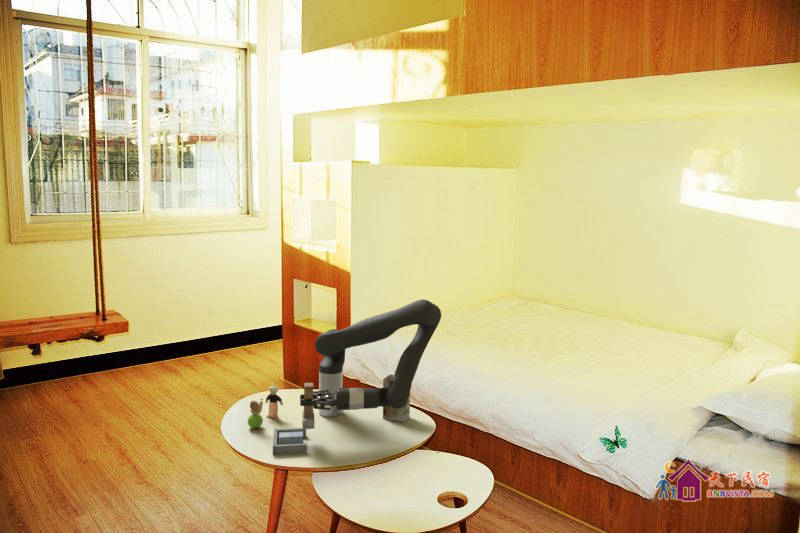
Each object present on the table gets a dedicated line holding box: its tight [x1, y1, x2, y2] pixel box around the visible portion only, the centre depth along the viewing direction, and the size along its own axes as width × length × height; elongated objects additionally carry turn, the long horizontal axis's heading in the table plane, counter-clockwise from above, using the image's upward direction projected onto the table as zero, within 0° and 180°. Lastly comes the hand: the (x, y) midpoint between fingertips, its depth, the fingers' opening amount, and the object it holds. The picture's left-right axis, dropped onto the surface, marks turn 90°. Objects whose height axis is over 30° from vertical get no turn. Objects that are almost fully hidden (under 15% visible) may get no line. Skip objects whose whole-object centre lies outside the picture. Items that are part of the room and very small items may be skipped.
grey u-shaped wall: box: [272, 427, 308, 456], centre depth 214 cm, size 14×11×3 cm
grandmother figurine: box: [264, 385, 284, 420], centre depth 237 cm, size 8×4×13 cm, turn 81°
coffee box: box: [382, 374, 411, 423], centre depth 239 cm, size 9×6×16 cm
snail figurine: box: [247, 398, 264, 429], centre depth 226 cm, size 5×6×12 cm
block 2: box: [291, 432, 304, 444], centre depth 214 cm, size 4×4×4 cm
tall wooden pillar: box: [301, 382, 316, 430], centre depth 213 cm, size 9×4×14 cm, turn 9°
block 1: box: [278, 432, 291, 445], centre depth 213 cm, size 4×4×4 cm
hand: (300, 400), depth 212 cm, fingers closed on tall wooden pillar, 4 cm apart
